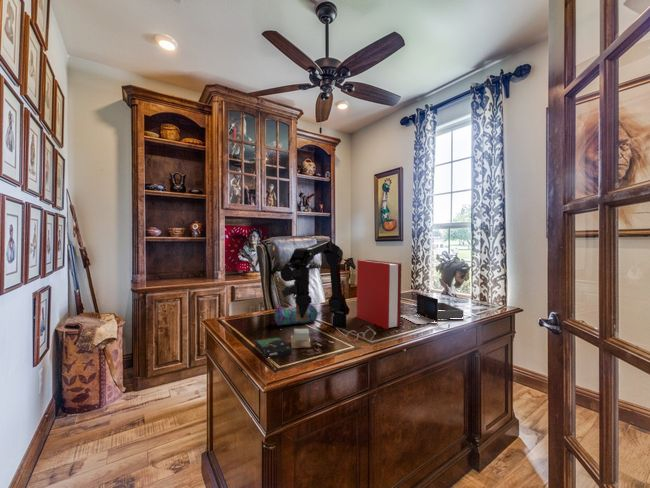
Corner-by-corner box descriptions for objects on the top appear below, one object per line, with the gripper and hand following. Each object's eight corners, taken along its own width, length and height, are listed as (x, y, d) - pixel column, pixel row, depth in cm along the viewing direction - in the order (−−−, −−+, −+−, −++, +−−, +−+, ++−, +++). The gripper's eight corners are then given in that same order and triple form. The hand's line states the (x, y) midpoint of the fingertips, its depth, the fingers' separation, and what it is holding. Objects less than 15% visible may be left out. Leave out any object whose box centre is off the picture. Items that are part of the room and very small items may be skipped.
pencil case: (310, 319, 162) (310, 301, 162) (317, 323, 154) (317, 304, 154) (273, 323, 152) (273, 305, 152) (279, 328, 144) (279, 308, 144)
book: (400, 327, 148) (401, 263, 148) (388, 329, 144) (389, 263, 144) (366, 314, 172) (367, 259, 172) (355, 316, 168) (355, 260, 168)
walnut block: (306, 317, 126) (306, 303, 126) (307, 320, 121) (307, 305, 121) (295, 317, 125) (295, 303, 125) (296, 320, 121) (296, 306, 121)
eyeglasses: (344, 343, 126) (344, 331, 126) (331, 330, 144) (331, 320, 144) (378, 340, 130) (378, 329, 130) (362, 328, 148) (362, 318, 148)
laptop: (398, 316, 169) (398, 294, 169) (416, 315, 173) (417, 293, 173) (417, 325, 152) (418, 300, 152) (437, 323, 156) (438, 299, 156)
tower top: (308, 335, 127) (308, 328, 126) (309, 340, 121) (309, 332, 121) (294, 335, 126) (294, 328, 126) (294, 340, 120) (294, 333, 120)
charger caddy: (443, 310, 185) (443, 302, 185) (463, 319, 164) (463, 310, 164) (416, 311, 182) (416, 303, 182) (434, 320, 162) (434, 311, 162)
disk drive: (292, 355, 112) (279, 342, 126) (292, 348, 112) (279, 336, 125) (265, 360, 108) (255, 346, 121) (265, 353, 108) (255, 339, 121)
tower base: (308, 341, 127) (308, 335, 127) (310, 348, 120) (310, 341, 120) (290, 342, 126) (291, 335, 126) (291, 349, 119) (291, 341, 119)
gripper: (282, 276, 131) (281, 311, 131) (282, 282, 113) (282, 323, 113) (307, 275, 133) (306, 310, 133) (311, 281, 114) (311, 322, 114)
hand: (301, 316), depth 123 cm, fingers closed on walnut block, 4 cm apart
